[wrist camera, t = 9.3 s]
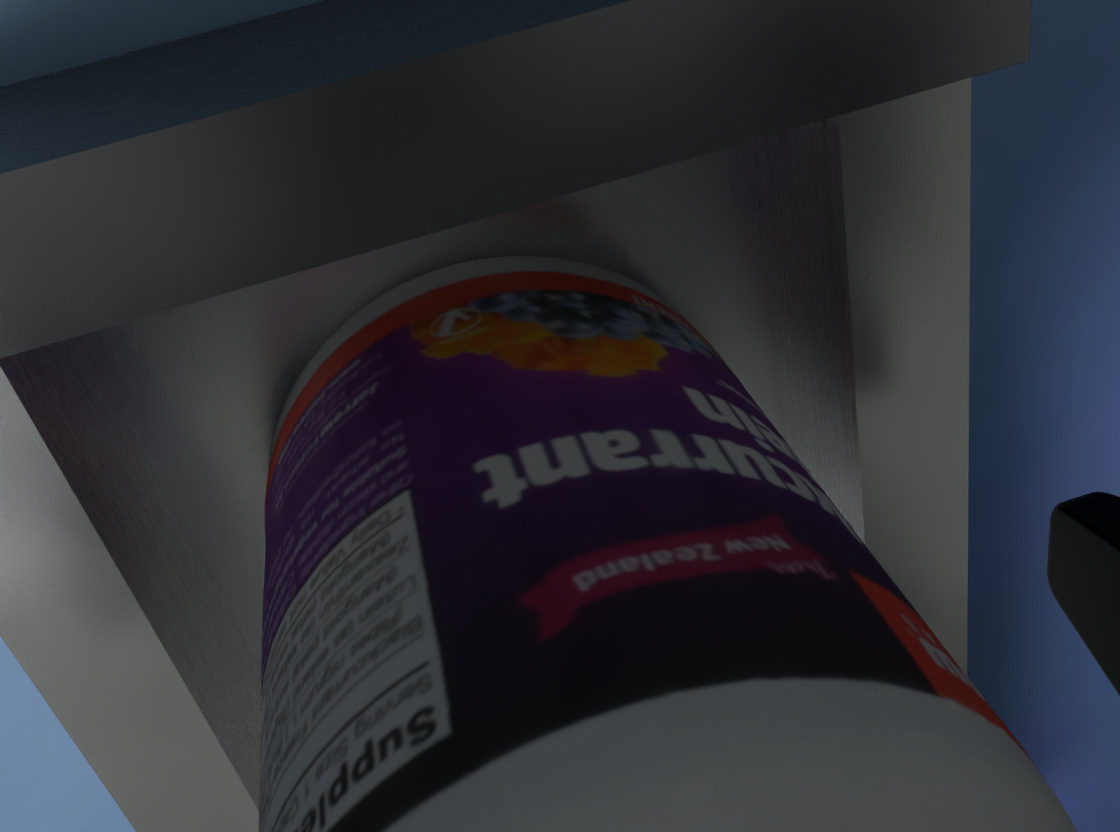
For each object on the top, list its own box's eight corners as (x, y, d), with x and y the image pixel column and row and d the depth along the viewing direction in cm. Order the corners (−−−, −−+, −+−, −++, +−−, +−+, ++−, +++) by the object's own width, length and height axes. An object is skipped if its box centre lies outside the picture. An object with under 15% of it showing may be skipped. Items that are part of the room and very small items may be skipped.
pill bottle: (806, 343, 13) (1781, 1375, 4) (588, 672, 15) (992, 1812, 6) (383, 154, 10) (801, 1543, 2) (191, 573, 12) (35, 2143, 4)
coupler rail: (891, -164, 11) (1140, -139, 8) (922, 861, 20) (1039, 1055, 17) (-241, 139, 10) (-476, 304, 7) (350, 1065, 19) (366, 1307, 16)
